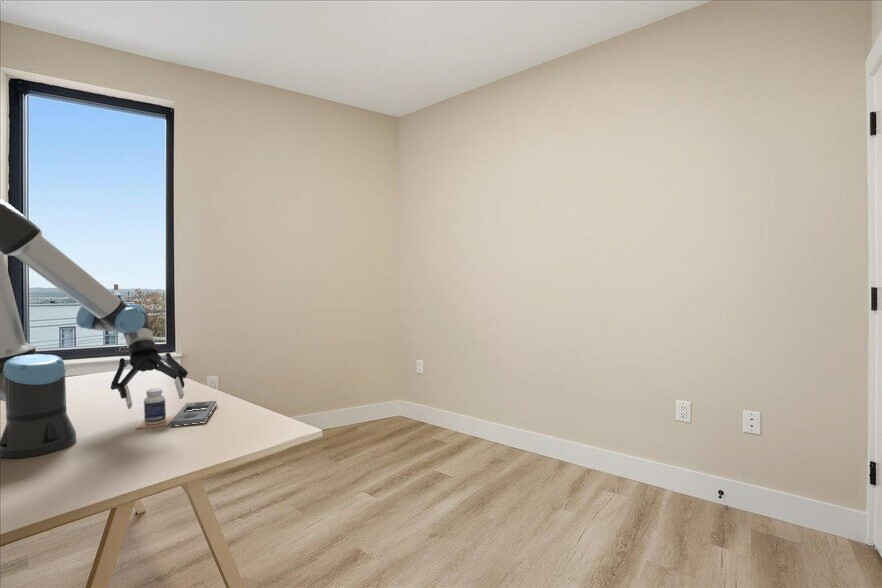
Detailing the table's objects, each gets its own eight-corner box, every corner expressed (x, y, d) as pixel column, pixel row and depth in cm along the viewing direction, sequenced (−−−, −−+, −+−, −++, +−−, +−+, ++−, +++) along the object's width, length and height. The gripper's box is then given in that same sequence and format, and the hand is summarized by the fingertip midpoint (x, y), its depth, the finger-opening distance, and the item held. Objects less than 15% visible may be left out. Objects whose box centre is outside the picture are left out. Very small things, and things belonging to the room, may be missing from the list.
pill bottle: (168, 421, 137) (167, 389, 136) (147, 426, 133) (146, 393, 132) (162, 418, 140) (161, 386, 140) (142, 422, 136) (141, 390, 136)
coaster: (167, 426, 134) (167, 424, 134) (136, 429, 132) (136, 427, 132) (174, 418, 142) (174, 416, 142) (145, 420, 139) (145, 419, 139)
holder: (204, 423, 136) (204, 418, 136) (170, 426, 133) (170, 421, 133) (216, 405, 155) (216, 400, 155) (186, 407, 152) (186, 402, 152)
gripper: (181, 347, 157) (198, 399, 148) (92, 358, 139) (104, 417, 130) (186, 334, 153) (204, 386, 144) (94, 343, 135) (107, 403, 126)
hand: (156, 401), depth 137 cm, fingers open, 13 cm apart
